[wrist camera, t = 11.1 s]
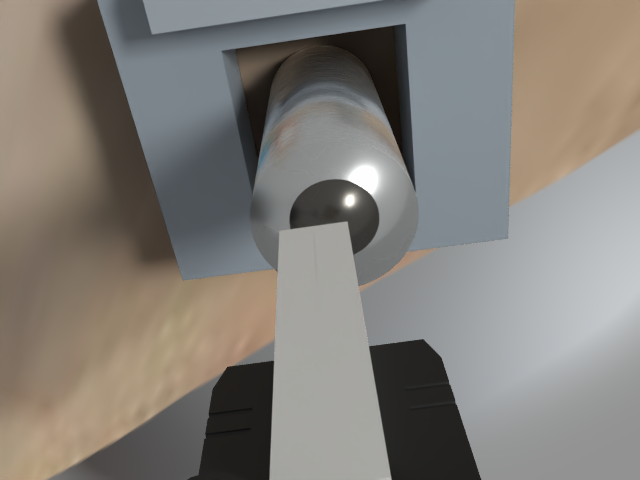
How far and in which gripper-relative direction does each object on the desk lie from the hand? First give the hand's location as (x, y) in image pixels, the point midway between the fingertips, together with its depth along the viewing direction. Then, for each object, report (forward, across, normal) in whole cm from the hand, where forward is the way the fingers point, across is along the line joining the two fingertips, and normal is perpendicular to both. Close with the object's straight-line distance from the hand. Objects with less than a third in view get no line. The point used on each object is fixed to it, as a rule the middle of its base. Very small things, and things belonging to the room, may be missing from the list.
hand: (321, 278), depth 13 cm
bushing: (+14, +1, 0) cm, 14 cm away
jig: (+14, +1, 0) cm, 14 cm away
